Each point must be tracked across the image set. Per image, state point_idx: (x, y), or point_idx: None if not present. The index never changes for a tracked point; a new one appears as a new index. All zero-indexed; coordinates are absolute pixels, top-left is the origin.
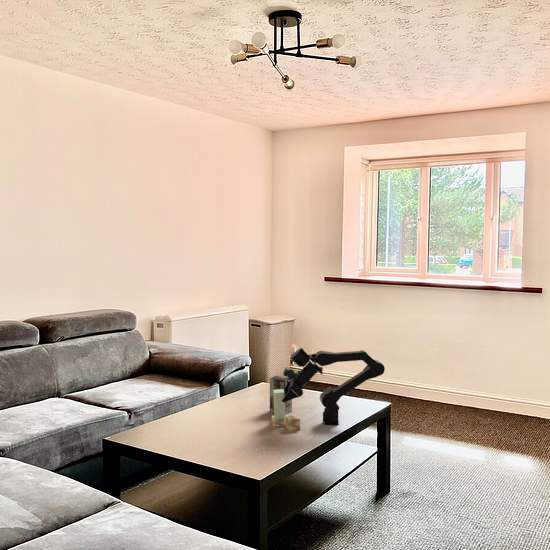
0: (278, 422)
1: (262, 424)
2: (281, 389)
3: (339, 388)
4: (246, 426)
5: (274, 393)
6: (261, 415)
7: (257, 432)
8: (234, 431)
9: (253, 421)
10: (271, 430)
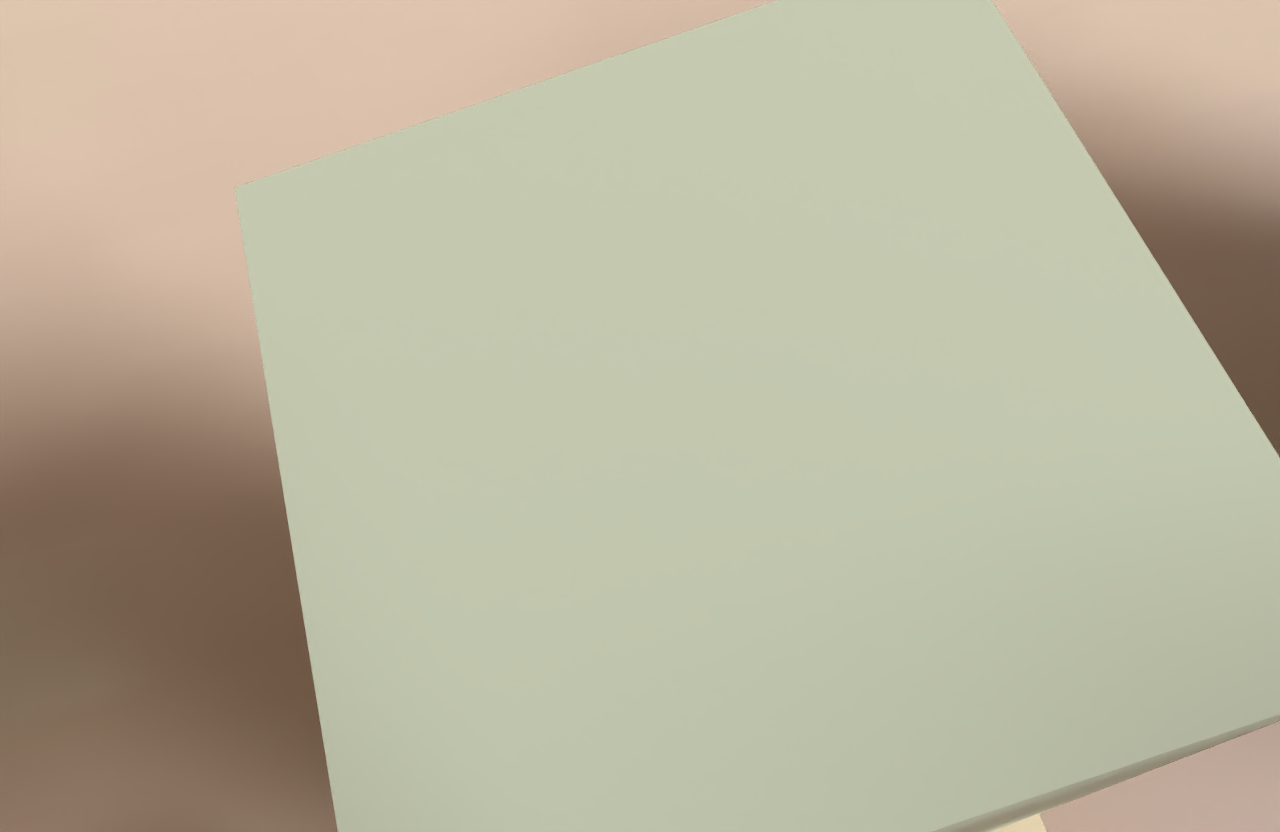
0: None
1: None
2: (1210, 512)
3: None
4: None
5: (258, 222)
6: (1229, 208)
7: (67, 411)
8: (116, 41)
9: None
10: (211, 662)
